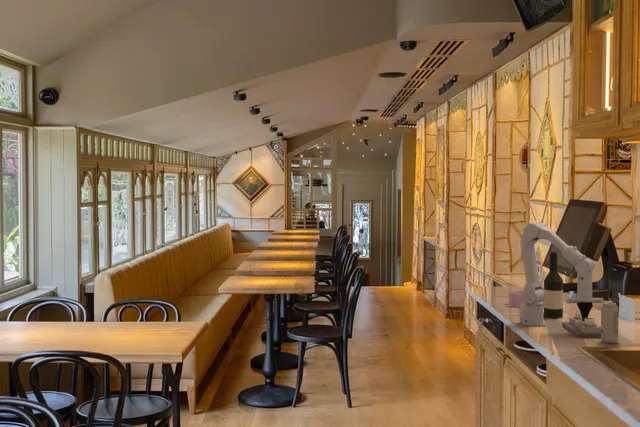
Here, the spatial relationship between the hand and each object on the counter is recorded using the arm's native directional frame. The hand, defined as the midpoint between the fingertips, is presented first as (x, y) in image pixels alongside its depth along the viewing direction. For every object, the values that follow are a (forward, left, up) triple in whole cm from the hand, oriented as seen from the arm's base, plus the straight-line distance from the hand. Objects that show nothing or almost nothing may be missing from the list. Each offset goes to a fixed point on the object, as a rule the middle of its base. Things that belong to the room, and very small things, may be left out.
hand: (584, 320), depth 275 cm
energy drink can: (+4, -18, -5) cm, 19 cm away
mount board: (0, 0, -4) cm, 4 cm away
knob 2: (0, 0, -3) cm, 3 cm away
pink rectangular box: (-10, +56, -5) cm, 57 cm away
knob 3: (0, -7, 0) cm, 7 cm away
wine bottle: (-5, +30, -5) cm, 31 cm away
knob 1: (0, +7, 0) cm, 7 cm away
